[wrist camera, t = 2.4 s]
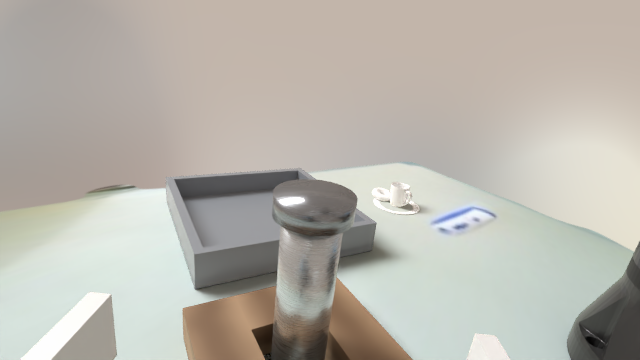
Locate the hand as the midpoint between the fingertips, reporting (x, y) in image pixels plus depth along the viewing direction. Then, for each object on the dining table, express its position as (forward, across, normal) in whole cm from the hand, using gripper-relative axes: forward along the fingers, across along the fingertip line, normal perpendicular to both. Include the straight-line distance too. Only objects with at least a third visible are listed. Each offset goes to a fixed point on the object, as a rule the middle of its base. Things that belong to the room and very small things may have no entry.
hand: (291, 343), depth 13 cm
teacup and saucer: (+49, +16, -13) cm, 54 cm away
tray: (+34, -6, -13) cm, 37 cm away
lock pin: (+10, 0, -13) cm, 17 cm away
